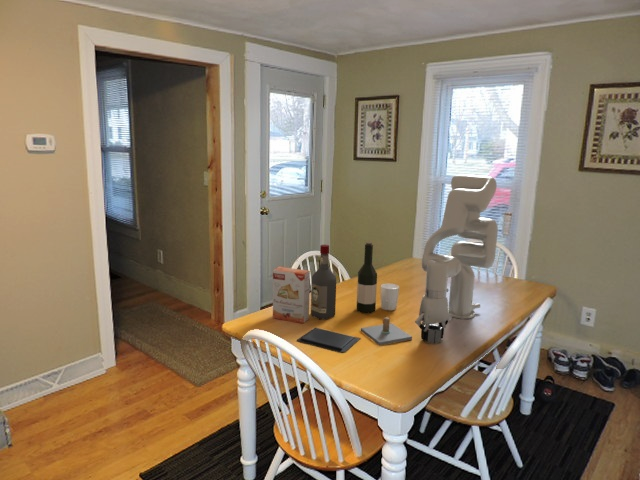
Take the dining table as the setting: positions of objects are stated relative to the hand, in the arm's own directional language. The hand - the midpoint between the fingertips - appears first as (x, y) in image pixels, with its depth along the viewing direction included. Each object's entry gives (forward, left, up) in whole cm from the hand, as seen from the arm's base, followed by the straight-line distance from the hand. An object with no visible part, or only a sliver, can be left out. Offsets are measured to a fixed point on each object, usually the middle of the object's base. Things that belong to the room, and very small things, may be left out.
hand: (432, 338), depth 177 cm
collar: (0, 0, -1) cm, 1 cm away
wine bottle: (+8, -36, -1) cm, 37 cm away
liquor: (+28, -37, -1) cm, 46 cm away
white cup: (-3, -35, -1) cm, 35 cm away
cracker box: (+42, -38, -1) cm, 57 cm away
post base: (+14, -10, -1) cm, 17 cm away
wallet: (+36, -14, -2) cm, 39 cm away
